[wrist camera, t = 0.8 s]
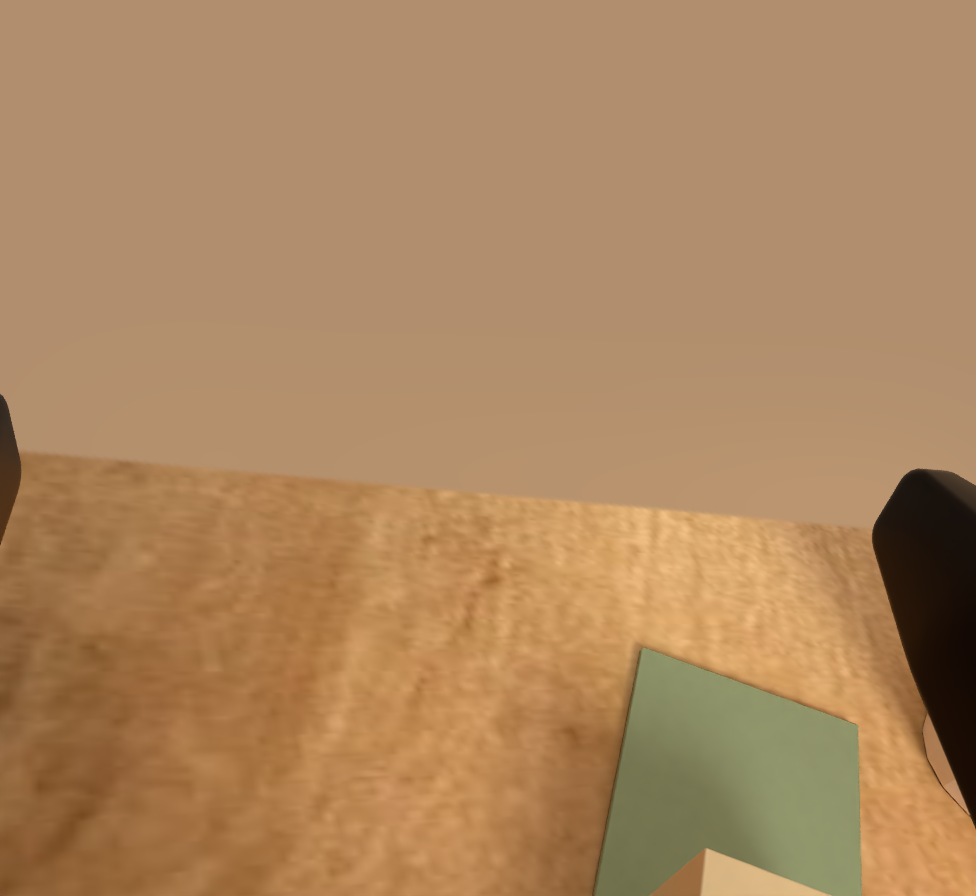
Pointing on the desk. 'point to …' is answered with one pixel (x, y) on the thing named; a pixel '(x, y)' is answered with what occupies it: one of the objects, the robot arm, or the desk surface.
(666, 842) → the line mat
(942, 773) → the beverage cup
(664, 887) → the cream block
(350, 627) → the desk surface
